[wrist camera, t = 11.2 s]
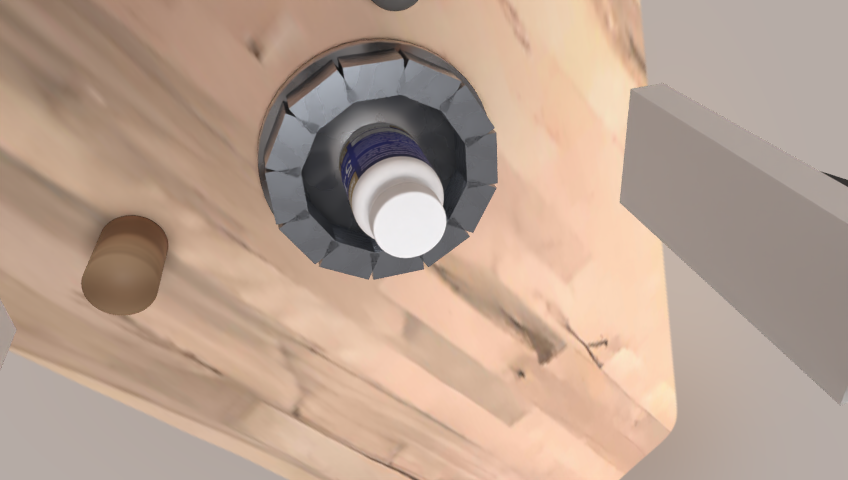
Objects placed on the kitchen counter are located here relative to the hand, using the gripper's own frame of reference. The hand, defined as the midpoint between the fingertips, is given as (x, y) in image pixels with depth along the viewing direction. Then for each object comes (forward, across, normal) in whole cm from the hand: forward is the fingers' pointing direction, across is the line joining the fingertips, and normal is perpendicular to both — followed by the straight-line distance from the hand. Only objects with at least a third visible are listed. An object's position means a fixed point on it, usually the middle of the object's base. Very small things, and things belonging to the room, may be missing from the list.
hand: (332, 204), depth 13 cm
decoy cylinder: (+27, -11, -15) cm, 33 cm away
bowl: (+27, +5, -12) cm, 30 cm away
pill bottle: (+26, +5, -12) cm, 29 cm away
